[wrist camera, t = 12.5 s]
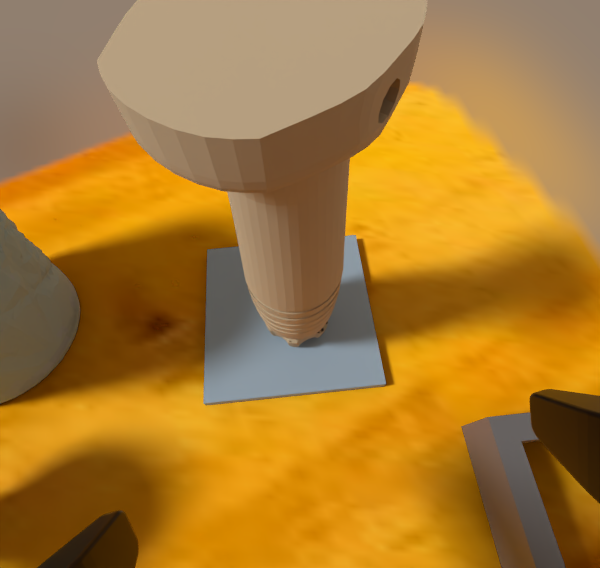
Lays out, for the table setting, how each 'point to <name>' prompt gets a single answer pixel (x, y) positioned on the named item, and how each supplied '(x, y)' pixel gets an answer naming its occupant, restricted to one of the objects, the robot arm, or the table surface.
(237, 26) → the handle
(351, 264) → the mat
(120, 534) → the robot arm
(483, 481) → the grey square frame
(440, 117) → the table surface
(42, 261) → the grey cup
